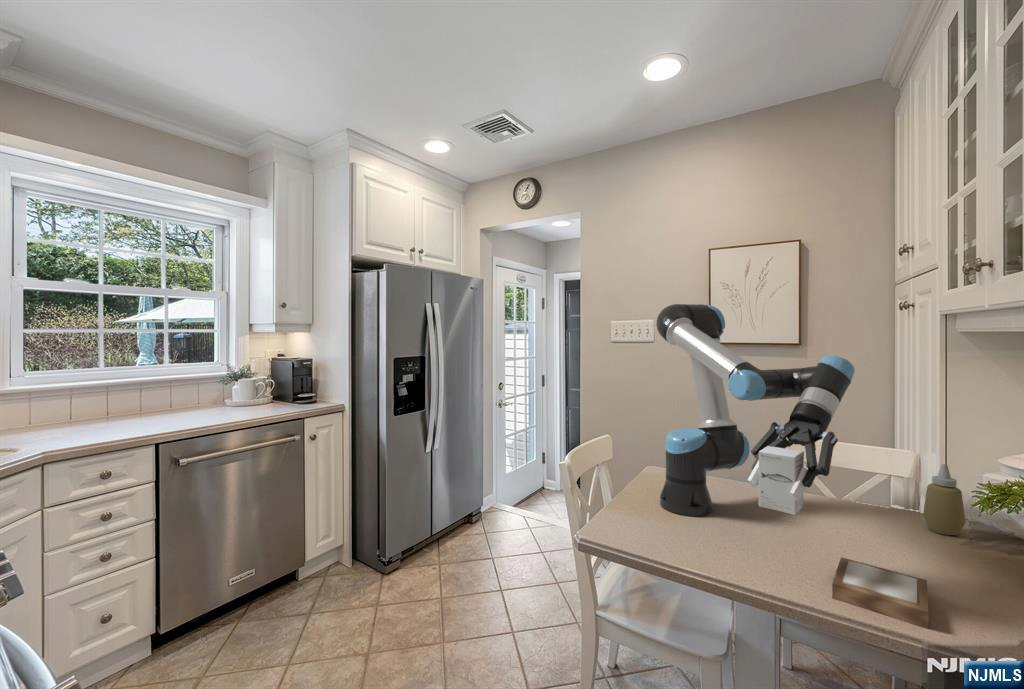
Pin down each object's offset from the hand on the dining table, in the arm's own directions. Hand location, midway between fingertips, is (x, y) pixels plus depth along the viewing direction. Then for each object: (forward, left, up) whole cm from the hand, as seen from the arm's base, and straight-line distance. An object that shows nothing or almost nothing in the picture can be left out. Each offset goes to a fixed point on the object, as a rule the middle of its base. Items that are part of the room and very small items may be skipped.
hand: (772, 490), depth 97 cm
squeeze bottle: (+29, +54, -19) cm, 64 cm away
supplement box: (+1, +3, -5) cm, 6 cm away
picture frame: (+18, +5, -19) cm, 27 cm away
